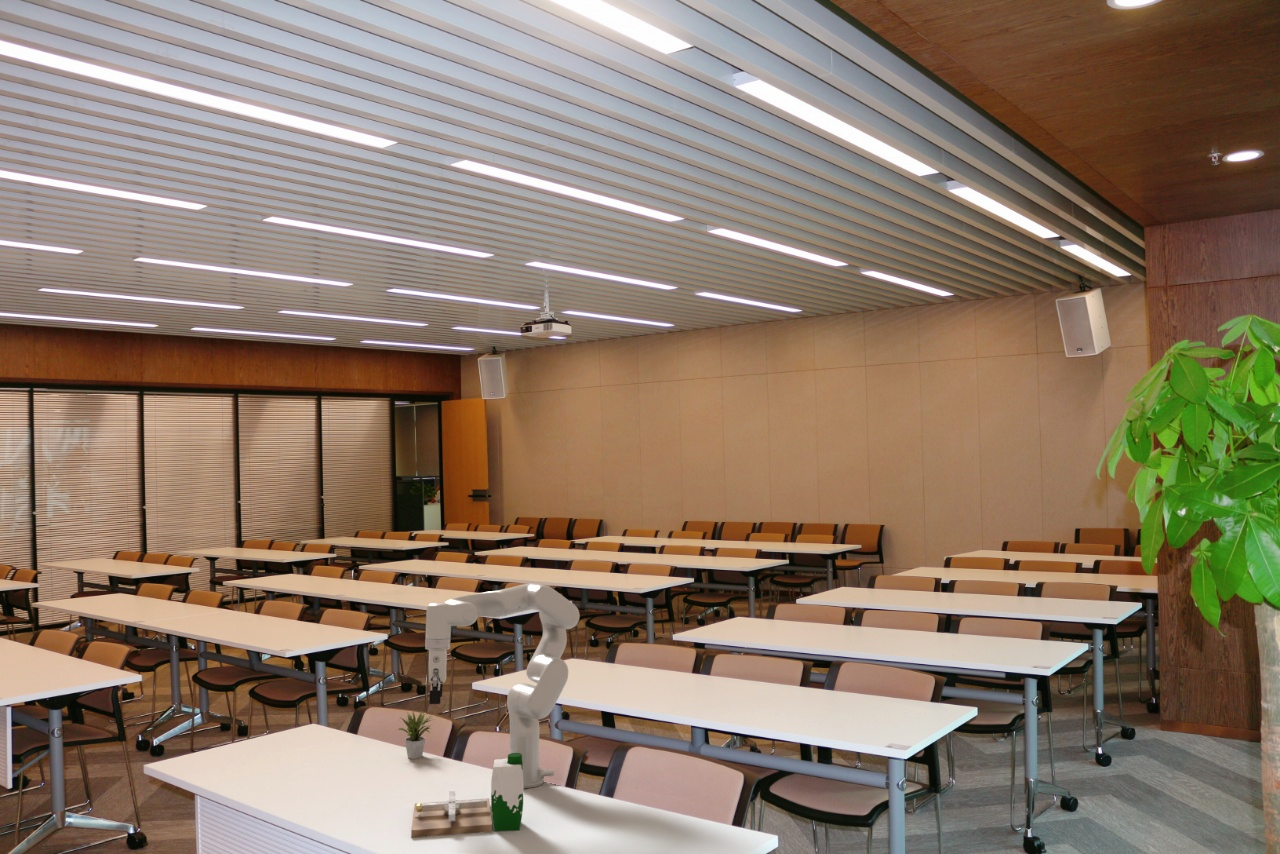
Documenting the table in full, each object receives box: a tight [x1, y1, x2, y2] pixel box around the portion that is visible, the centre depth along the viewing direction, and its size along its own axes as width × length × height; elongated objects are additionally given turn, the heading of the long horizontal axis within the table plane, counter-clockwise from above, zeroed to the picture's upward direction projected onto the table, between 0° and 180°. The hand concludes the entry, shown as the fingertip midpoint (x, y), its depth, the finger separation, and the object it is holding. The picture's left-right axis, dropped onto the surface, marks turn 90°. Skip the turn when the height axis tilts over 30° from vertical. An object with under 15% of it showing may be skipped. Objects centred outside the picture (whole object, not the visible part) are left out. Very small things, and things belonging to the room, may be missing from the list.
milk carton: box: [490, 753, 524, 832], centre depth 272 cm, size 9×9×20 cm
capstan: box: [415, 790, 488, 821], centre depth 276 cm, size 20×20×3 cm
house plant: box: [397, 709, 438, 760], centre depth 339 cm, size 14×14×16 cm
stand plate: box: [410, 798, 493, 839], centre depth 276 cm, size 22×22×2 cm
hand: (435, 700), depth 292 cm, fingers open, 9 cm apart
